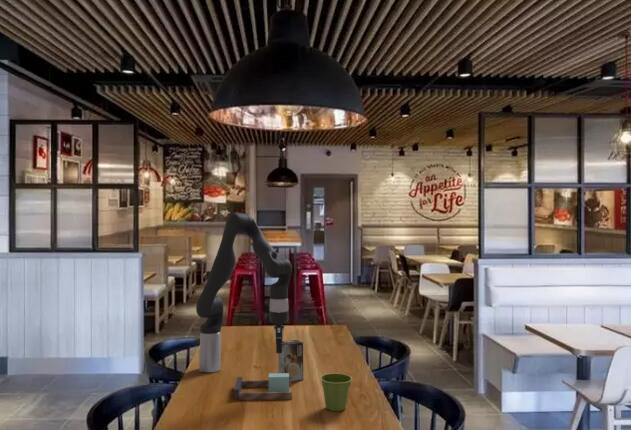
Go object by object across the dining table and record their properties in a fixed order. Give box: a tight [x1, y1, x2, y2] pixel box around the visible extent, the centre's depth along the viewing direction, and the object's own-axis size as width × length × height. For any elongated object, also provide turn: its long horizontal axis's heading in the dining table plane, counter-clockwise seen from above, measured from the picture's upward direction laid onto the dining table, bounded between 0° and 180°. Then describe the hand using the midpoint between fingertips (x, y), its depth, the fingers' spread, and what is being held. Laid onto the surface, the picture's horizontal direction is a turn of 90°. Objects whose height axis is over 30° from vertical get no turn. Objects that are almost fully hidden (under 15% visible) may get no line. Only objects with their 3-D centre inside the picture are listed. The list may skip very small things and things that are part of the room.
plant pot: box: [319, 372, 353, 412], centre depth 208 cm, size 12×12×11 cm
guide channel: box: [233, 376, 293, 401], centre depth 226 cm, size 22×16×4 cm
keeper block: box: [268, 372, 290, 392], centre depth 226 cm, size 8×5×7 cm, turn 93°
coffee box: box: [277, 339, 304, 383], centre depth 243 cm, size 9×6×16 cm
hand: (279, 350), depth 226 cm, fingers open, 8 cm apart
